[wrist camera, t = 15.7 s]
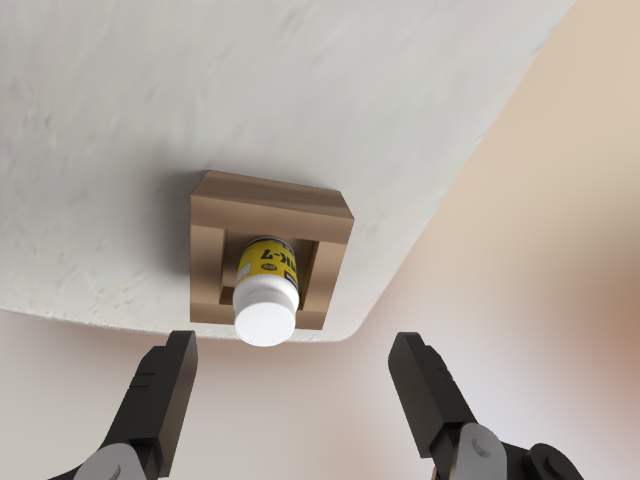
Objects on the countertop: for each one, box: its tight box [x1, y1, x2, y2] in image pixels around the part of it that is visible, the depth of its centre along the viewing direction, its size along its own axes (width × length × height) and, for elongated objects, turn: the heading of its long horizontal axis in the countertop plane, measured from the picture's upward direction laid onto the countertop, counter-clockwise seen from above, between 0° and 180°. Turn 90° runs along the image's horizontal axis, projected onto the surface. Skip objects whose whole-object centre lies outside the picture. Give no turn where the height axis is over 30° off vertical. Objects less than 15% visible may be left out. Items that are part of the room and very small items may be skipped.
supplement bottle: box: [233, 236, 299, 346], centre depth 23 cm, size 5×5×8 cm
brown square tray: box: [190, 170, 355, 330], centre depth 27 cm, size 12×12×6 cm
